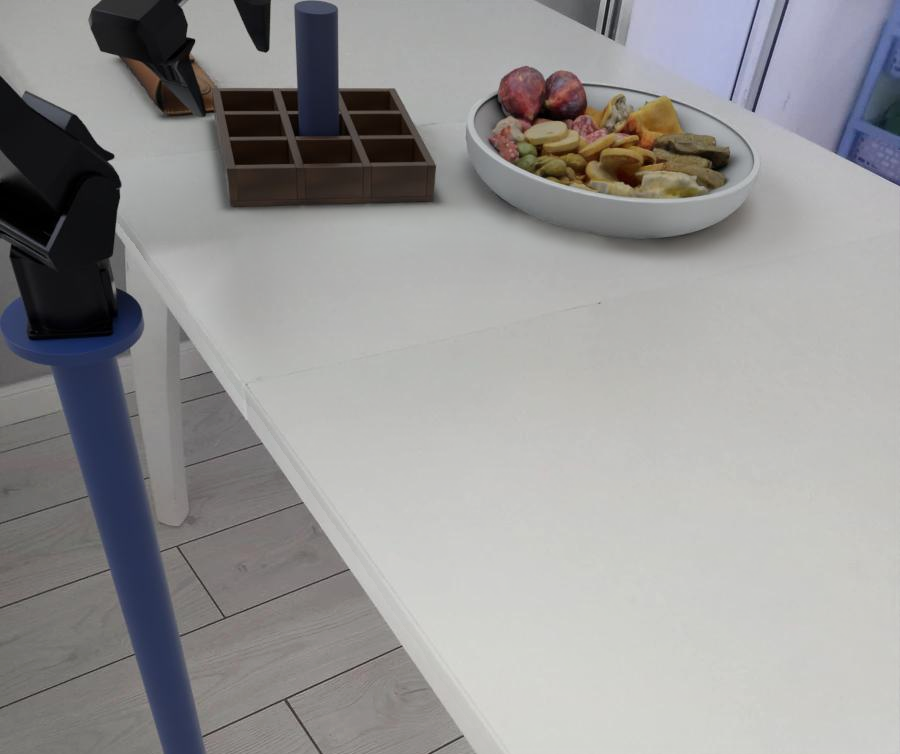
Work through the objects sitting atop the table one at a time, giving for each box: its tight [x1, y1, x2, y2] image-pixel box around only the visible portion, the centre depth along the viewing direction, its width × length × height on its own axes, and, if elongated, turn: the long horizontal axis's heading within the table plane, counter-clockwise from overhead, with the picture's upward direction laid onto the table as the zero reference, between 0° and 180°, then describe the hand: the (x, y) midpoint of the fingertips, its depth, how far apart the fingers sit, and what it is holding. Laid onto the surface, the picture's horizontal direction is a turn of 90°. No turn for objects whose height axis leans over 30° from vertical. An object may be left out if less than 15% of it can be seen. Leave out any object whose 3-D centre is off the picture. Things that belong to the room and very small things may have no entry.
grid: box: [212, 87, 437, 207], centre depth 91 cm, size 20×20×4 cm
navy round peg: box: [293, 0, 340, 136], centre depth 87 cm, size 4×4×13 cm
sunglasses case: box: [118, 53, 218, 116], centre depth 101 cm, size 18×7×7 cm
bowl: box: [465, 65, 762, 239], centre depth 91 cm, size 30×30×8 cm
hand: (232, 82), depth 74 cm, fingers open, 9 cm apart
